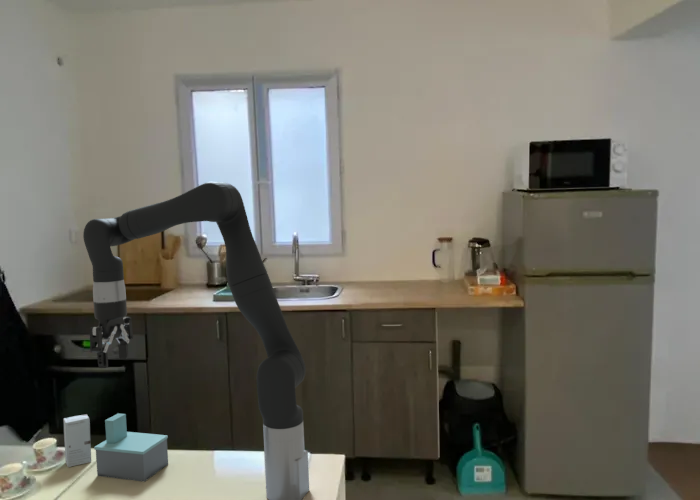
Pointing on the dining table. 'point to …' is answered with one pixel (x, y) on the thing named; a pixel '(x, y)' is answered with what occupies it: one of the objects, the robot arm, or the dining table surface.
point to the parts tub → (132, 463)
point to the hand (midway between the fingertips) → (113, 362)
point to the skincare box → (77, 440)
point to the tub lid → (127, 438)
